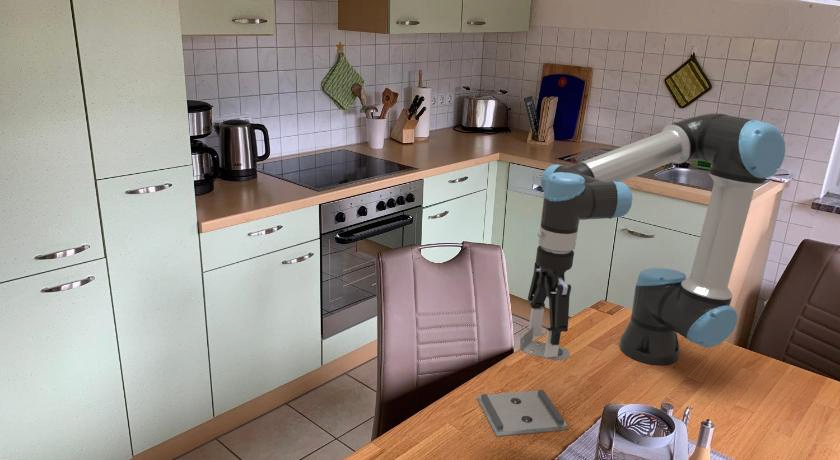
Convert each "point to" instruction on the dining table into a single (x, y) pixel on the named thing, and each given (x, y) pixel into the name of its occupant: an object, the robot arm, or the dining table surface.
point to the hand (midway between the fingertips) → (542, 345)
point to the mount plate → (521, 413)
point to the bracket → (539, 347)
